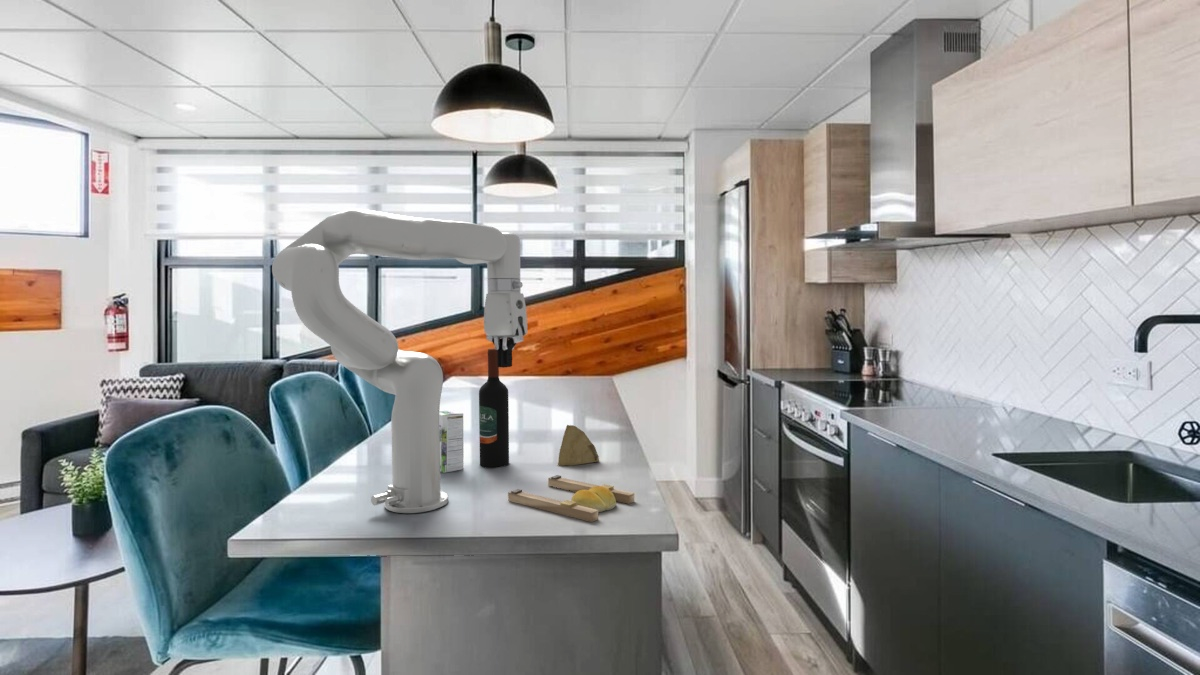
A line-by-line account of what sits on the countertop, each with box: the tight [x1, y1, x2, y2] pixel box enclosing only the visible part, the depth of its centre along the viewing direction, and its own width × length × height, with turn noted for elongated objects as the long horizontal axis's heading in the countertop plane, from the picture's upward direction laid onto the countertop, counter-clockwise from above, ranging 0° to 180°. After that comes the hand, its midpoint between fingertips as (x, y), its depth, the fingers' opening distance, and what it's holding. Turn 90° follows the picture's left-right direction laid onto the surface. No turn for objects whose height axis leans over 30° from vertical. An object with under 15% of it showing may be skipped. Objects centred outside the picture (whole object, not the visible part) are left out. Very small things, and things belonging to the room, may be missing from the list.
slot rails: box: [507, 474, 635, 523], centre depth 127 cm, size 15×22×2 cm
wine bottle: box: [478, 348, 510, 469], centre depth 156 cm, size 8×8×30 cm
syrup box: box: [439, 410, 465, 474], centre depth 152 cm, size 6×6×14 cm
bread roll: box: [571, 485, 617, 513], centre depth 123 cm, size 8×9×4 cm
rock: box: [557, 424, 600, 467], centre depth 158 cm, size 11×9×10 cm
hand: (504, 366), depth 139 cm, fingers closed
